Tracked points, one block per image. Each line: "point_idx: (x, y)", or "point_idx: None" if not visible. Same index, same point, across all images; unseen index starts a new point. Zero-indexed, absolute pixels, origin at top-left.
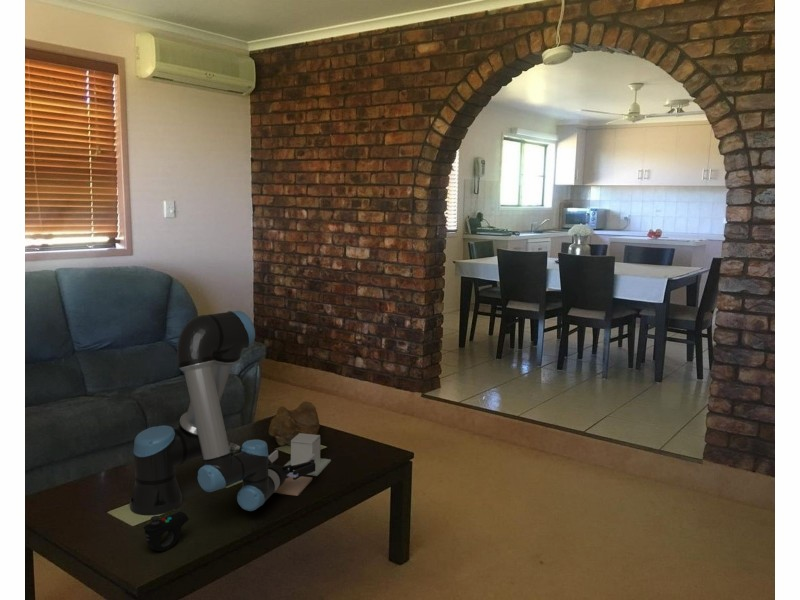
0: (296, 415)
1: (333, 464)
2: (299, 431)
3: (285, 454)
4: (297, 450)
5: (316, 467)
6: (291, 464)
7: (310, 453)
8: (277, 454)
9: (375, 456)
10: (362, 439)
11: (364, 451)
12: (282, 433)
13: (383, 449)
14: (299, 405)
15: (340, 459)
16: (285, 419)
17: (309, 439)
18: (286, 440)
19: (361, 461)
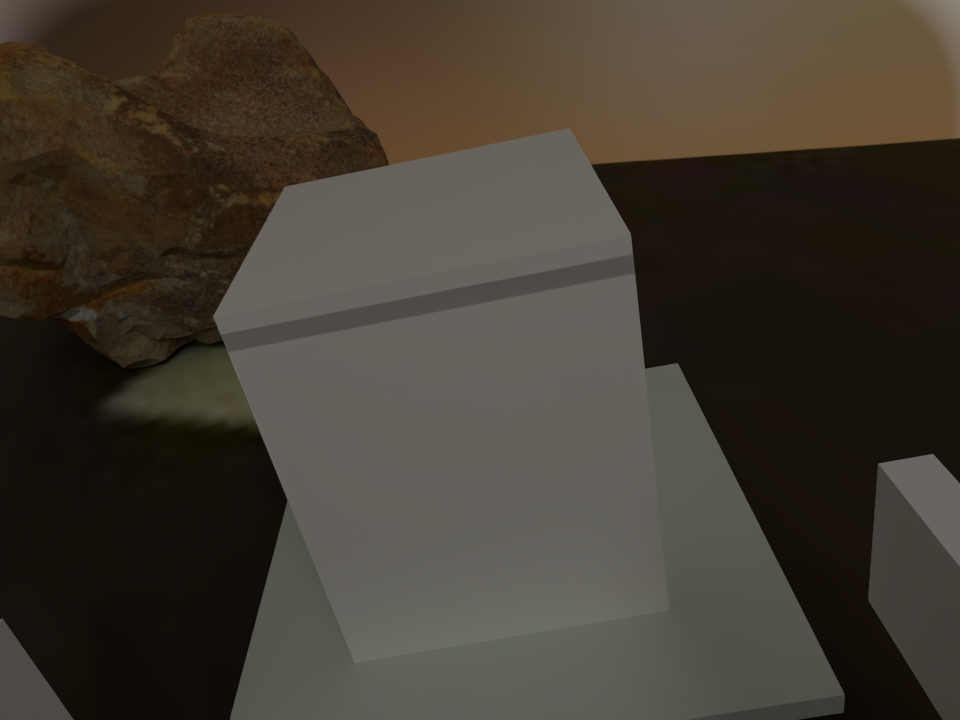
0: (177, 111)
1: (755, 408)
2: (254, 207)
3: (207, 444)
4: (385, 436)
5: (668, 533)
6: (349, 629)
7: (618, 416)
8: (33, 706)
9: (943, 217)
10: (649, 161)
11: (794, 213)
12: (112, 271)
13: (884, 164)
14: (173, 46)
15: (734, 331)
16: (76, 128)
17: (506, 207)
18: (171, 316)
19: (935, 289)
